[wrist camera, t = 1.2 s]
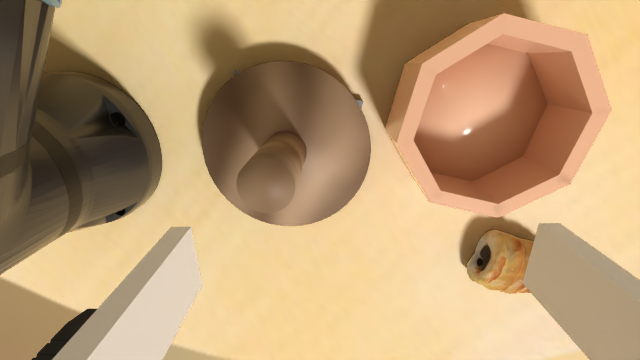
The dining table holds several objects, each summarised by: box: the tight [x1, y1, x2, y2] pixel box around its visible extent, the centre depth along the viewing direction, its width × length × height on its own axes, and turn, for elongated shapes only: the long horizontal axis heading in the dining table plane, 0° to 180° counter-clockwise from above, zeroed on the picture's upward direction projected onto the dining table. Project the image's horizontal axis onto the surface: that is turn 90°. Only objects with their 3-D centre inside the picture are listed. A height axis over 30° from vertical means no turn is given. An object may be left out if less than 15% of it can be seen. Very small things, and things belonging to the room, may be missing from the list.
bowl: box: [385, 13, 611, 218], centre depth 26 cm, size 14×14×6 cm
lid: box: [202, 61, 371, 226], centre depth 26 cm, size 16×16×10 cm
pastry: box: [467, 230, 534, 293], centre depth 33 cm, size 9×7×4 cm
